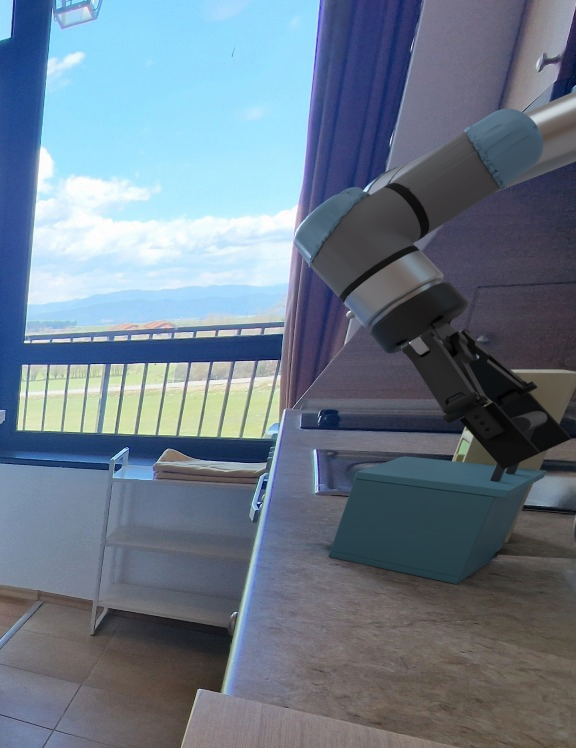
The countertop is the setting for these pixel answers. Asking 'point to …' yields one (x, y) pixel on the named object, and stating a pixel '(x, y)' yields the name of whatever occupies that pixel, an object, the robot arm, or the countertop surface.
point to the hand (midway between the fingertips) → (539, 454)
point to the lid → (461, 470)
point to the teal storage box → (423, 529)
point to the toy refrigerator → (551, 396)
